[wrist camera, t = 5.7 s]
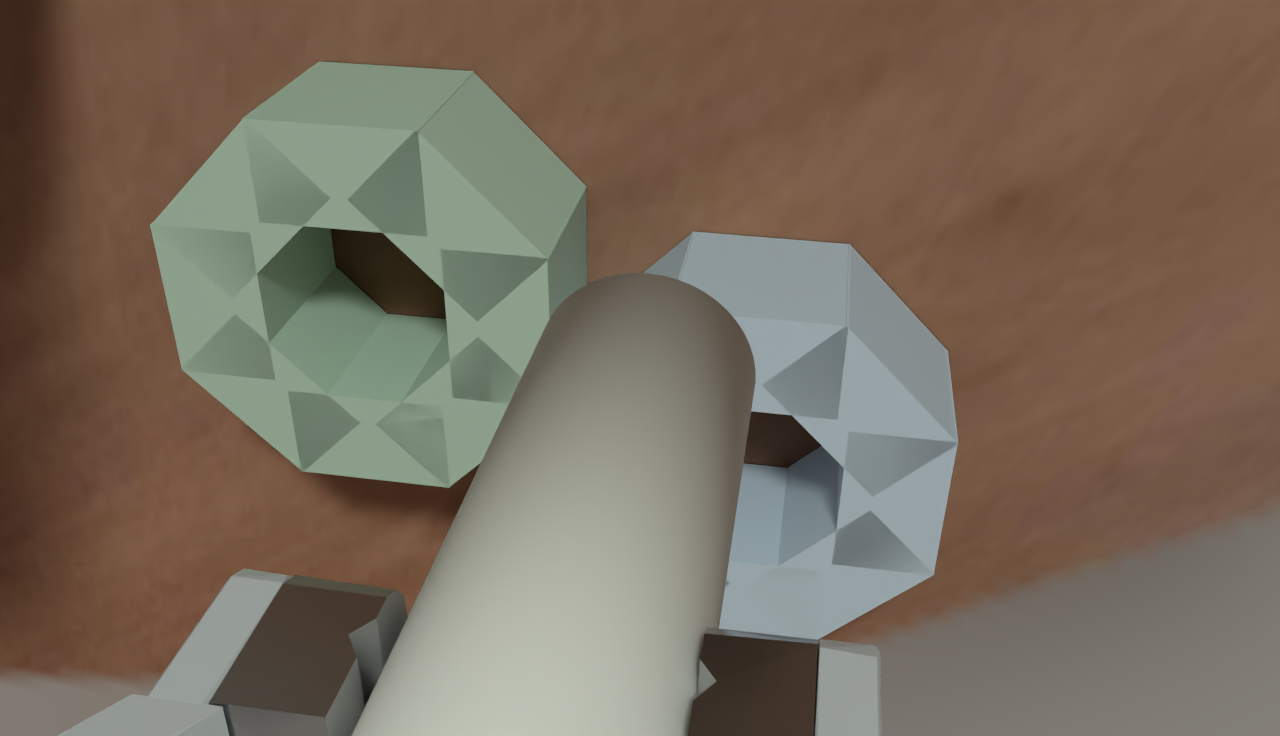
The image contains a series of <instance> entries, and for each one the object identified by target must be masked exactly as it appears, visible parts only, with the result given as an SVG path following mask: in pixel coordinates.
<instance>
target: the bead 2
mask: <svg viewBox="0 0 1280 736" xmlns="http://www.w3.org/2000/svg"><path fill="white" fill-rule="evenodd" d="M644 273H649V274H656V275H663V276H666V277H670V278H674V279H678V280H680V281H683V282H685V283H688V284H690V285H692V286H694V287H696V288H698V289H700V290H702V291H703V292H705V293H707V294H708V295H709V296H711V297H712V298H714V299H715V300H716V301H718V302H719V303H720V304H721V305H722V306H723V307H724V308H725V309H726V310H727V311H728V312H729V313H730V314H731V315H732V316H733V318H734V319H735V320H736V321H737V323H738V324H739V326H740V327H741V329H742V330H743V332H744V334H745V336H746V338H747V340H748V342H749V344H750V347H751V350H752V354H753V357H754V363H755V370H756V382H755V389H754V396H753V403H752V409H751V411H753V412H763V413H773V414H783V415H792V416H793V417H794V418H795V419H796V420H797V421H798V422H799V423H800V424H801V425H802V426H803V427H804V428H805V429H806V430H807V431H808V432H809V433H810V434H811V435H812V436H813V437H814V438H815V439H816V440H817V441H818V442H819V443H820V444H821V445H822V446H820V447H819V448H817V449H816V450H814V451H813V452H811V453H809V454H808V455H806V456H805V457H803V458H802V459H800V460H799V461H797V462H796V463H794V464H793V465H791V466H790V467H788V468H783V467H774V466H764V465H755V464H745V463H743V470H742V476H741V483H740V490H739V497H738V503H737V510H736V517H735V523H734V530H733V537H732V544H731V550H730V557H729V564H728V570H727V577H726V584H725V591H724V597H723V604H722V611H721V618H720V624H719V629H728V630H737V631H746V632H754V633H763V634H772V635H781V636H790V637H799V638H808V639H816V640H818V639H820V638H821V637H823V636H825V635H827V634H829V633H830V632H832V631H834V630H836V629H837V628H839V627H841V626H843V625H845V624H846V623H848V622H850V621H852V620H854V619H855V618H857V617H859V616H861V615H863V614H864V613H866V612H868V611H870V610H872V609H873V608H875V607H877V606H879V605H881V604H882V603H884V602H886V601H888V600H890V599H891V598H893V597H895V596H897V595H898V594H900V593H902V592H904V591H906V590H907V589H909V588H911V587H913V586H915V585H916V584H918V583H920V582H922V581H924V580H925V579H927V578H929V577H931V576H933V575H934V569H935V564H936V559H937V553H938V548H939V542H940V537H941V531H942V526H943V520H944V515H945V509H946V504H947V499H948V493H949V488H950V482H951V477H952V471H953V466H954V460H955V455H956V450H957V445H958V437H957V428H956V419H955V410H954V401H953V392H952V384H951V375H950V366H949V357H948V351H947V350H946V349H945V348H944V346H943V345H942V344H941V343H940V342H939V341H938V340H937V339H936V338H935V337H934V336H933V334H932V333H931V332H930V331H929V330H928V329H927V328H926V327H925V326H924V325H923V324H922V322H921V321H920V320H919V319H918V318H917V317H916V316H915V315H914V314H913V313H912V312H911V310H910V309H909V308H908V307H907V306H906V305H905V304H904V303H903V302H902V301H901V300H900V298H899V297H898V296H897V295H896V294H895V293H894V292H893V291H892V290H891V289H890V287H889V286H888V285H887V284H886V283H885V282H884V281H883V280H882V279H881V278H880V277H879V275H878V274H877V273H876V272H875V271H874V270H873V269H872V268H871V267H870V266H869V265H868V263H867V262H866V261H865V260H864V259H863V258H862V257H861V256H860V255H859V254H858V253H857V251H856V250H855V249H854V248H853V247H852V246H851V244H841V243H829V242H816V241H804V240H791V239H779V238H766V237H754V236H741V235H729V234H716V233H704V232H695V231H694V232H692V234H690V235H689V236H688V237H687V238H685V239H684V240H683V241H682V242H681V243H679V244H678V245H677V246H676V247H674V248H673V249H672V250H671V251H669V252H668V253H667V254H666V255H665V256H663V257H662V258H661V259H660V260H658V261H657V262H656V263H655V264H653V265H652V266H651V267H650V268H649V269H647V270H646V271H645V272H644Z"/></svg>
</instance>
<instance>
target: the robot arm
mask: <svg viewBox="0 0 1280 736" xmlns="http://www.w3.org/2000/svg"><path fill="white" fill-rule="evenodd" d="M407 618H408V617H407V611H406V605H405V598H404V595H403V594H401V593H400V592H398V591H397V590H393V589H387V588H380V587H373V586H366V585H359V584H353V583H346V582H339V581H332V580H325V579H319V578H312V577H305V576H298V575H295V576H289V575H282V574H276V573H269V572H263V571H256V570H250V569H243V570H241V571H239V572H238V573H236V574H234V575H233V576H231V577H230V578H229V579H228V580H227V582H226V583H225V585H224V586H223V588H222V589H221V590H220V592H219V593H218V595H217V596H216V598H215V599H214V601H213V602H212V603H211V605H210V606H209V608H208V609H207V611H206V612H205V614H204V615H203V616H202V618H201V619H200V621H199V622H198V624H197V625H196V626H195V628H194V629H193V631H192V632H191V634H190V635H189V637H188V638H187V639H186V641H185V642H184V644H183V645H182V647H181V648H180V650H179V651H178V652H177V654H176V655H175V657H174V658H173V660H172V661H171V662H170V664H169V665H168V667H167V668H166V670H165V671H164V673H163V674H162V675H161V677H160V678H159V680H158V681H157V683H156V684H155V685H154V687H153V688H152V690H151V691H150V693H149V694H148V696H143V695H134V694H131V695H129V696H127V697H126V698H124V699H122V700H120V701H119V702H117V703H115V704H113V705H111V706H110V707H108V708H106V709H104V710H102V711H101V712H99V713H97V714H95V715H93V716H92V717H90V718H88V719H86V720H85V721H83V722H81V723H79V724H77V725H76V726H74V727H72V728H70V729H69V730H67V731H65V732H63V733H61V734H59V735H58V736H352V734H353V731H354V729H355V727H356V725H357V723H358V721H359V719H360V717H361V715H362V712H363V710H364V708H365V706H366V704H367V702H368V700H369V698H370V696H371V693H372V691H373V689H374V687H375V685H376V683H377V681H378V679H379V677H380V675H381V672H382V670H383V668H384V666H385V664H386V662H387V660H388V658H389V656H390V653H391V651H392V649H393V647H394V645H395V643H396V641H397V639H398V637H399V634H400V632H401V630H402V628H403V626H404V624H405V622H406V620H407ZM880 682H881V681H880V653H879V651H878V649H877V647H876V645H868V644H858V643H849V642H840V641H830V640H821V639H820V640H819V642H817V640H816V639H808V638H799V637H790V636H781V635H772V634H763V633H754V632H746V631H737V630H728V629H719V628H710V627H707V628H706V630H705V633H704V638H703V644H702V650H701V655H700V665H699V680H698V696H697V698H696V699H694V700H693V704H692V711H691V717H690V724H689V730H688V736H882V733H881V684H880Z"/></svg>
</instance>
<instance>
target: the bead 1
mask: <svg viewBox="0 0 1280 736" xmlns="http://www.w3.org/2000/svg"><path fill="white" fill-rule="evenodd" d="M586 188H587V187H586V185H584V184H583V183H582V182H581V181H580V180H579V179H578V177H577V176H576V175H575V174H574V173H573V172H572V171H571V170H570V169H569V168H568V167H567V166H566V165H565V164H564V163H563V162H562V161H561V160H560V159H559V158H558V157H557V156H556V155H555V154H554V153H553V152H552V151H551V150H550V149H549V148H548V147H547V146H546V145H545V144H544V143H543V142H542V141H541V140H540V139H539V138H538V137H537V136H536V135H535V134H534V133H533V132H532V131H531V130H530V129H529V128H528V127H527V126H526V125H525V124H524V123H523V122H522V121H521V120H520V118H519V117H518V116H517V115H516V114H515V113H514V112H513V111H512V110H511V109H510V108H509V107H508V106H507V105H506V104H505V103H504V102H503V101H502V100H501V99H500V98H499V97H498V96H497V95H496V94H495V93H494V92H493V91H492V90H491V89H490V88H489V87H488V86H487V85H486V84H485V83H484V82H483V81H482V80H481V79H480V78H479V77H478V76H477V75H476V74H475V73H474V71H460V70H445V69H429V68H413V67H397V66H381V65H366V64H350V63H334V62H321V61H320V62H318V63H316V64H315V65H314V66H312V67H311V68H310V69H308V70H307V71H306V72H304V73H303V74H301V75H300V76H299V77H297V78H296V79H295V80H293V81H292V82H291V83H289V84H288V85H287V86H285V87H284V88H283V89H281V90H280V91H279V92H277V93H276V94H275V95H273V96H272V97H270V98H269V99H268V100H266V101H265V102H264V103H262V104H261V105H260V106H258V107H257V108H256V109H254V110H253V111H252V112H250V113H249V114H248V115H246V116H245V117H244V118H242V121H241V122H240V123H239V124H238V125H237V127H236V128H235V129H234V130H233V131H232V132H231V133H230V135H229V136H228V137H227V138H226V139H225V140H224V141H223V143H222V144H221V145H220V146H219V147H218V148H217V150H216V151H215V152H214V153H213V154H212V155H211V156H210V158H209V159H208V160H207V161H206V162H205V163H204V164H203V166H202V167H201V168H200V169H199V170H198V171H197V173H196V174H195V175H194V176H193V177H192V178H191V179H190V181H189V182H188V183H187V184H186V185H185V186H184V187H183V189H182V190H181V191H180V192H179V193H178V194H177V196H176V197H175V198H174V199H173V200H172V201H171V202H170V204H169V205H168V206H167V207H166V208H165V209H164V210H163V212H162V213H161V214H160V215H159V216H158V217H157V219H156V220H155V221H154V222H153V223H151V224H150V227H151V231H152V236H153V240H154V245H155V249H156V254H157V258H158V263H159V267H160V272H161V276H162V281H163V286H164V290H165V295H166V299H167V304H168V308H169V313H170V317H171V322H172V326H173V331H174V335H175V340H176V345H177V349H178V354H179V358H180V363H181V367H182V371H184V372H185V373H187V374H188V375H189V376H190V377H191V378H193V379H194V380H195V381H196V382H197V383H198V384H200V385H201V386H202V387H203V388H204V389H206V390H207V391H208V392H209V393H210V394H211V395H213V396H214V397H215V398H216V399H217V400H219V401H220V402H221V403H222V404H223V405H224V406H226V407H227V408H228V409H229V410H230V411H232V412H233V413H234V414H235V415H236V416H237V417H239V418H240V419H241V420H242V421H243V422H245V423H246V424H247V425H248V426H249V427H251V428H252V429H253V430H254V431H255V432H256V433H258V434H259V435H260V436H261V437H262V438H264V439H265V440H266V441H267V442H268V443H269V444H271V445H272V446H273V447H274V448H275V449H277V450H278V451H279V452H280V453H281V454H282V455H284V456H285V457H286V458H287V459H288V460H290V461H291V462H292V463H293V464H294V465H295V466H297V467H298V468H299V469H300V470H301V471H303V472H313V473H322V474H331V475H339V476H348V477H357V478H366V479H375V480H384V481H393V482H402V483H411V484H420V485H429V486H438V487H446V488H450V486H451V485H453V484H454V483H455V482H457V481H458V480H459V479H460V478H462V477H463V476H464V475H466V474H467V473H468V472H469V471H471V470H472V469H473V468H475V467H476V466H477V465H478V464H480V463H481V462H482V460H483V457H484V455H485V453H486V451H487V449H488V447H489V445H490V443H491V441H492V438H493V436H494V434H495V432H496V430H497V428H498V426H499V424H500V422H501V420H502V417H503V415H504V413H505V411H506V409H507V407H508V405H509V403H510V401H511V398H512V396H513V394H514V392H515V390H516V388H517V386H518V384H519V382H520V379H521V377H522V375H523V373H524V371H525V369H526V367H527V365H528V363H529V361H530V358H531V356H532V354H533V352H534V350H535V348H536V346H537V344H538V342H539V339H540V337H541V335H542V333H543V331H544V329H545V327H546V325H547V323H548V321H549V319H550V318H551V316H552V314H553V313H554V312H555V310H556V309H557V308H558V306H559V305H560V304H561V303H562V302H563V301H564V300H565V299H566V298H567V297H568V296H570V295H571V294H573V293H574V292H575V291H577V290H578V289H580V288H581V287H583V286H585V285H587V216H586ZM331 229H343V230H355V231H367V232H379V233H383V234H384V235H385V236H386V237H388V238H389V239H390V240H391V241H392V242H393V243H394V244H395V245H396V246H397V247H398V248H399V249H400V250H401V251H402V252H403V253H405V254H406V255H407V256H408V257H409V258H410V259H411V260H412V261H413V262H414V263H415V264H416V265H417V266H418V267H419V268H421V269H422V270H423V271H424V272H425V273H426V274H427V275H428V276H429V277H430V278H431V279H432V280H433V281H434V282H435V283H436V284H438V285H439V286H440V287H441V288H442V289H443V290H444V298H445V310H446V319H439V318H428V317H417V316H406V315H395V314H387V313H386V312H385V311H384V310H383V309H382V308H380V307H379V306H378V305H377V304H376V303H375V302H374V301H373V300H372V299H371V298H370V297H368V296H367V295H366V294H365V293H364V292H363V291H362V290H361V289H360V288H359V287H358V286H356V285H355V284H354V283H353V282H352V281H351V280H350V279H349V278H348V277H347V276H346V275H344V274H343V273H342V272H341V271H340V270H339V269H338V268H337V267H336V265H335V257H334V250H333V243H332V235H331Z"/></svg>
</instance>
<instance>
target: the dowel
mask: <svg viewBox="0 0 1280 736" xmlns="http://www.w3.org/2000/svg"><path fill="white" fill-rule="evenodd" d="M755 382H756V370H755V363H754V357H753V354H752V350H751V347H750V344H749V342H748V340H747V338H746V336H745V334H744V332H743V330H742V329H741V327H740V326H739V324H738V323H737V321H736V320H735V319H734V318H733V316H732V315H731V314H730V313H729V312H728V311H727V310H726V309H725V308H724V307H723V306H722V305H721V304H720V303H719V302H718V301H716V300H715V299H714V298H712V297H711V296H709V295H708V294H707V293H705V292H703V291H702V290H700V289H698V288H696V287H694V286H692V285H690V284H688V283H685V282H683V281H680V280H678V279H674V278H670V277H666V276H663V275H656V274H649V273H628V274H618V275H613V276H609V277H605V278H602V279H599V280H596V281H594V282H591V283H589V284H587V285H585V286H583V287H581V288H580V289H578V290H577V291H575V292H574V293H573V294H571V295H570V296H568V297H567V298H566V299H565V300H564V301H563V302H562V303H561V304H560V305H559V306H558V308H557V309H556V310H555V312H554V313H553V314H552V316H551V318H550V319H549V321H548V323H547V325H546V327H545V329H544V331H543V333H542V335H541V337H540V339H539V342H538V344H537V346H536V348H535V350H534V352H533V354H532V356H531V358H530V361H529V363H528V365H527V367H526V369H525V371H524V373H523V375H522V377H521V379H520V382H519V384H518V386H517V388H516V390H515V392H514V394H513V396H512V398H511V401H510V403H509V405H508V407H507V409H506V411H505V413H504V415H503V417H502V420H501V422H500V424H499V426H498V428H497V430H496V432H495V434H494V436H493V438H492V441H491V443H490V445H489V447H488V449H487V451H486V453H485V455H484V457H483V460H482V462H481V464H480V466H479V468H478V470H477V472H476V474H475V476H474V479H473V481H472V483H471V485H470V487H469V489H468V491H467V493H466V495H465V497H464V500H463V502H462V504H461V506H460V508H459V510H458V512H457V514H456V516H455V519H454V521H453V523H452V525H451V527H450V529H449V531H448V533H447V535H446V538H445V540H444V542H443V544H442V546H441V548H440V550H439V552H438V554H437V557H436V559H435V561H434V563H433V565H432V567H431V569H430V571H429V573H428V575H427V578H426V580H425V582H424V584H423V586H422V588H421V590H420V592H419V594H418V597H417V599H416V601H415V603H414V605H413V607H412V609H411V611H410V613H409V616H408V618H407V620H406V622H405V624H404V626H403V628H402V630H401V632H400V634H399V637H398V639H397V641H396V643H395V645H394V647H393V649H392V651H391V653H390V656H389V658H388V660H387V662H386V664H385V666H384V668H383V670H382V672H381V675H380V677H379V679H378V681H377V683H376V685H375V687H374V689H373V691H372V693H371V696H370V698H369V700H368V702H367V704H366V706H365V708H364V710H363V712H362V715H361V717H360V719H359V721H358V723H357V725H356V727H355V729H354V731H353V734H352V736H688V730H689V724H690V717H691V711H692V704H693V700H694V699H696V698H697V696H698V680H699V665H700V655H701V650H702V644H703V638H704V633H705V630H706V628H707V627H710V628H719V624H720V618H721V611H722V604H723V597H724V591H725V584H726V577H727V570H728V564H729V557H730V550H731V544H732V537H733V530H734V523H735V517H736V510H737V503H738V497H739V490H740V483H741V476H742V470H743V463H744V456H745V450H746V443H747V436H748V429H749V423H750V416H751V409H752V403H753V396H754V389H755Z"/></svg>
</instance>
